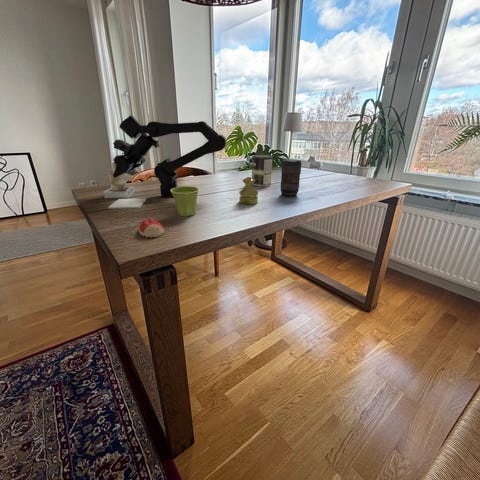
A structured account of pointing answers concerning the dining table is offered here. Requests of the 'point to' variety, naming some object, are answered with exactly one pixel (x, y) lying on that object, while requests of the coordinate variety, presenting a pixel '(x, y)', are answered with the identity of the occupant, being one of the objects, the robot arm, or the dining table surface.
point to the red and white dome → (151, 228)
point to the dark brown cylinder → (290, 177)
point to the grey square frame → (119, 193)
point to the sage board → (127, 203)
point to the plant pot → (185, 199)
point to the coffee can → (262, 169)
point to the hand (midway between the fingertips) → (119, 174)
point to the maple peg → (117, 181)
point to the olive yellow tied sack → (248, 192)
